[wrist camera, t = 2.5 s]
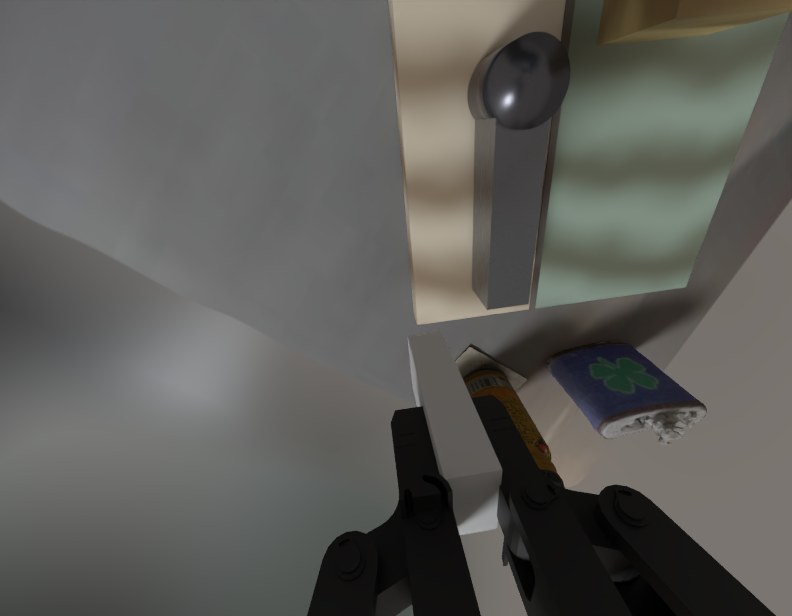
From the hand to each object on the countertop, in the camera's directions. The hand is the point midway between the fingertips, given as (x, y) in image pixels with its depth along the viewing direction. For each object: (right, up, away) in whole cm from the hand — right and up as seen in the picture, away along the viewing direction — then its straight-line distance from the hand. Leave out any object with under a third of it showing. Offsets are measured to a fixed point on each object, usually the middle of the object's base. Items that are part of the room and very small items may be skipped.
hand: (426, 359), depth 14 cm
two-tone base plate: (+11, +13, +10) cm, 20 cm away
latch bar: (+5, +11, +8) cm, 14 cm away
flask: (+19, -3, +20) cm, 27 cm away
